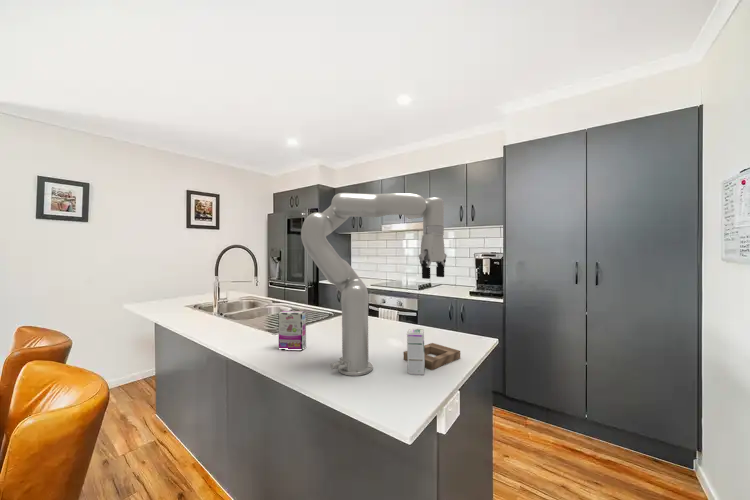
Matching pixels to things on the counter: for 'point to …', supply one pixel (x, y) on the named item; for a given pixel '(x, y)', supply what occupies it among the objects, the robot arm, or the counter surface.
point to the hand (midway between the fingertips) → (433, 277)
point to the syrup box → (415, 351)
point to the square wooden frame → (437, 355)
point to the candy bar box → (292, 329)
